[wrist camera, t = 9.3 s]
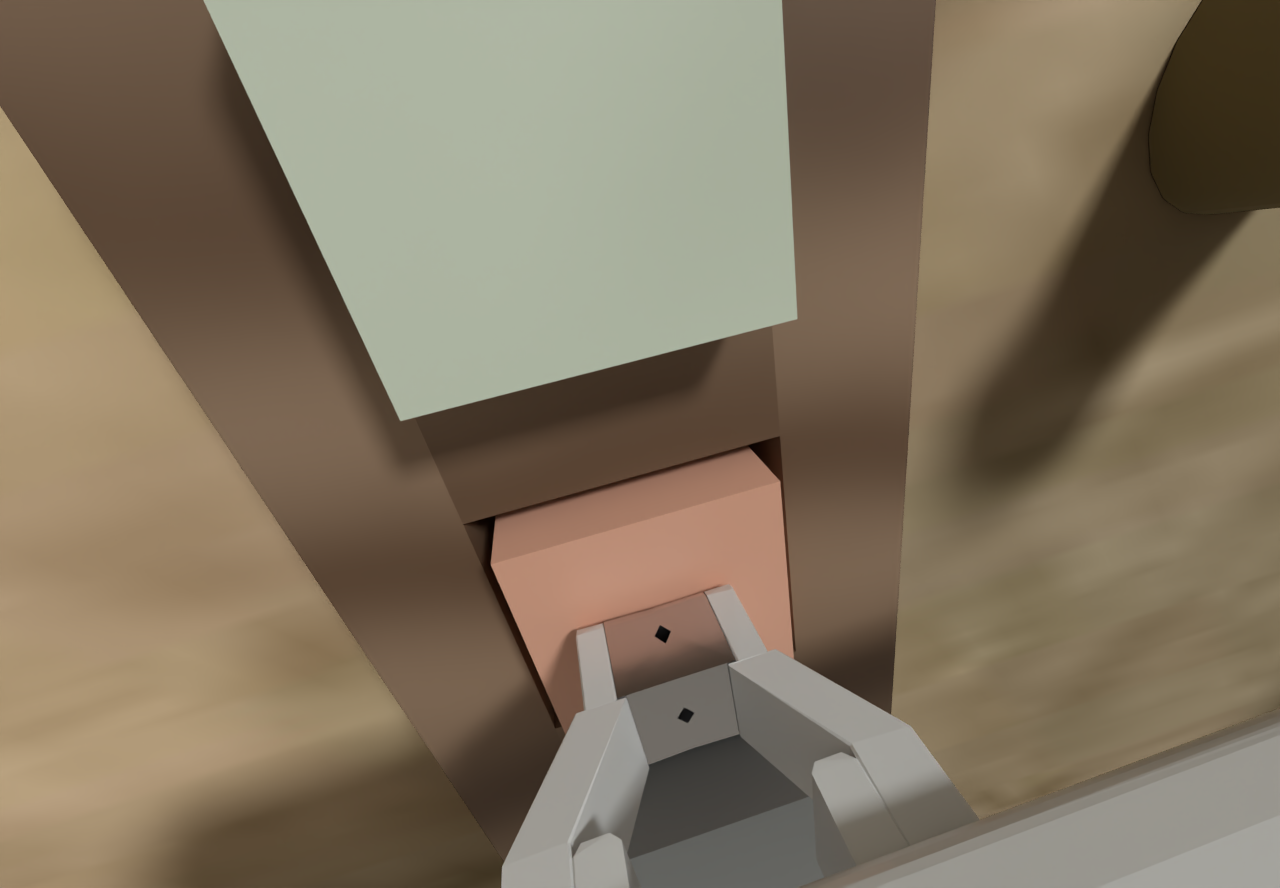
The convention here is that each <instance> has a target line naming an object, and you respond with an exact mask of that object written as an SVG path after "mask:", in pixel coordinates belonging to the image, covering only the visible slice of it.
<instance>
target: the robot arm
mask: <svg viewBox="0 0 1280 888" xmlns="http://www.w3.org/2000/svg"><path fill="white" fill-rule="evenodd" d="M576 644H577V653H578V662H579V671H580V679H581V688H582V697H583V706H584V711H581V712H579V713H576V714H575V716H574V718H573V720H572V722H571V724H570V726H569V728H568V731H567V733H566V735H565V737H564V739H563V741H562V743H561V745H560V747H559V749H558V751H557V753H556V756H555V758H554V760H553V762H552V764H551V766H550V768H549V770H548V772H547V774H546V776H545V778H544V780H543V783H542V785H541V787H540V789H539V791H538V793H537V795H536V797H535V799H534V801H533V803H532V805H531V808H530V810H529V812H528V814H527V816H526V818H525V820H524V822H523V824H522V826H521V828H520V830H519V832H518V835H517V837H516V839H515V841H514V843H513V845H512V847H511V849H510V851H509V853H508V855H507V857H506V860H505V862H504V864H503V866H502V881H501V888H641V885H640V883H639V880H638V878H637V876H636V873H635V871H634V868H633V866H632V863H631V861H630V859H629V856H628V854H627V852H628V848H629V845H630V841H631V837H632V833H633V829H634V825H635V821H636V818H637V814H638V810H639V806H640V802H641V798H642V794H643V790H644V787H645V783H646V779H647V775H648V771H649V766H648V765H649V764H652V763H655V762H657V761H660V760H663V759H665V758H668V757H671V756H674V755H676V754H679V753H682V752H684V751H687V750H690V749H692V748H695V747H699V746H702V745H705V744H709V743H712V742H715V741H718V740H722V739H725V738H728V737H732V736H735V735H738V734H740V737H742V738H743V739H744V740H745V741H746V742H747V743H748V744H750V745H751V746H752V747H753V748H754V749H755V750H756V751H758V752H759V753H760V754H761V755H762V756H763V757H764V758H766V759H767V760H768V761H769V762H770V763H771V764H772V765H774V766H775V767H776V768H777V769H778V770H779V771H780V772H782V773H783V774H784V775H785V776H786V777H787V778H788V779H790V780H791V781H792V782H793V783H794V784H795V785H796V786H798V787H799V788H800V789H801V790H802V791H803V792H804V793H806V794H807V795H808V796H809V797H810V798H811V799H812V800H813V807H814V825H815V843H816V860H817V862H818V864H819V866H820V869H821V871H822V873H823V876H824V878H822V879H819V880H816V881H814V882H811V883H808V884H805V885H803V886H800V887H797V888H1280V708H1279V709H1276V710H1273V711H1271V712H1268V713H1265V714H1263V715H1260V716H1257V717H1254V718H1252V719H1249V720H1246V721H1244V722H1241V723H1238V724H1236V725H1233V726H1230V727H1228V728H1225V729H1222V730H1220V731H1217V732H1214V733H1211V734H1209V735H1206V736H1203V737H1201V738H1198V739H1195V740H1193V741H1190V742H1187V743H1185V744H1182V745H1179V746H1177V747H1174V748H1171V749H1168V750H1166V751H1163V752H1160V753H1158V754H1155V755H1152V756H1150V757H1147V758H1144V759H1142V760H1139V761H1136V762H1133V763H1131V764H1128V765H1125V766H1123V767H1120V768H1117V769H1115V770H1112V771H1109V772H1107V773H1104V774H1101V775H1099V776H1096V777H1093V778H1090V779H1088V780H1085V781H1082V782H1080V783H1077V784H1074V785H1072V786H1069V787H1066V788H1064V789H1061V790H1058V791H1056V792H1053V793H1050V794H1047V795H1045V796H1042V797H1039V798H1037V799H1034V800H1031V801H1029V802H1026V803H1023V804H1021V805H1018V806H1015V807H1012V808H1010V809H1007V810H1004V811H1002V812H999V813H996V814H994V815H991V816H988V817H986V818H983V819H979V818H978V817H977V815H976V814H975V813H974V811H973V810H972V808H971V807H970V806H969V804H968V803H967V802H966V800H965V799H964V798H963V796H962V795H961V794H960V792H959V791H958V790H957V788H956V787H955V785H954V784H953V783H952V781H951V780H950V779H949V777H948V776H947V775H946V773H945V772H944V771H943V769H942V768H941V766H940V765H939V764H938V762H937V761H936V760H935V758H934V757H933V756H932V754H931V753H930V752H929V750H928V749H927V748H926V746H925V745H924V743H923V742H922V741H921V739H920V738H919V737H918V735H917V734H916V733H915V731H914V730H913V729H912V727H911V726H910V725H908V724H906V723H904V722H903V721H901V720H899V719H897V718H896V717H894V716H892V715H890V714H889V713H887V712H885V711H883V710H882V709H880V708H878V707H876V706H875V705H873V704H871V703H869V702H868V701H866V700H864V699H862V698H861V697H859V696H857V695H855V694H854V693H852V692H850V691H848V690H847V689H845V688H843V687H841V686H840V685H838V684H836V683H834V682H833V681H831V680H829V679H827V678H826V677H824V676H822V675H820V674H819V673H817V672H815V671H813V670H812V669H810V668H808V667H806V666H805V665H803V664H801V663H799V662H798V661H796V660H794V659H792V658H791V657H789V656H787V655H785V654H784V653H782V652H780V651H778V650H777V649H774V650H771V651H767V649H766V647H765V645H764V644H763V642H762V640H761V638H760V636H759V634H758V633H757V631H756V629H755V627H754V625H753V623H752V622H751V620H750V618H749V616H748V614H747V612H746V611H745V609H744V607H743V605H742V603H741V602H740V600H739V598H738V596H737V594H736V592H735V591H734V589H733V587H732V586H731V585H729V584H727V585H723V586H720V587H717V588H714V589H711V590H708V591H705V592H704V593H703V592H701V593H698V594H695V595H692V596H689V597H686V598H682V599H679V600H676V601H673V602H670V603H667V604H664V605H661V606H657V607H654V608H653V609H649V610H645V611H642V612H638V613H635V614H631V615H628V616H624V617H620V618H617V619H613V620H610V621H606V622H604V623H601V624H597V625H594V626H590V627H587V628H583V629H579V630H577V633H576Z"/></svg>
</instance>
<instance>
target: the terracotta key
mask: <svg viewBox="0 0 1280 888" xmlns="http://www.w3.org/2000/svg"><path fill="white" fill-rule="evenodd" d="M491 566H492V569H493V571H494V573H495V576H496V578H497V580H498V582H499V585H500V587H501V589H502V591H503V594H504V596H505V598H506V601H507V603H508V605H509V607H510V610H511V612H512V614H513V617H514V619H515V621H516V623H517V626H518V628H519V630H520V632H521V635H522V637H523V639H524V642H525V644H526V646H527V648H528V651H529V653H530V655H531V657H532V660H533V662H534V664H535V667H536V669H537V671H538V673H539V676H540V678H541V680H542V682H543V685H544V687H545V689H546V692H547V694H548V696H549V698H550V701H551V703H552V705H553V707H554V710H555V712H556V714H557V717H558V719H559V721H560V723H561V726H562V728H563V730H564V732H565V735H566V733H567V731H568V728H569V726H570V724H571V722H572V720H573V718H574V716H575V714H576V713H579V712H581V711H584V706H583V697H582V688H581V679H580V671H579V662H578V653H577V644H576V633H577V630H579V629H583V628H587V627H590V626H594V625H597V624H601V623H604V622H606V621H610V620H613V619H617V618H620V617H624V616H628V615H631V614H635V613H638V612H642V611H645V610H649V609H653V608H654V607H657V606H661V605H664V604H667V603H670V602H673V601H676V600H679V599H682V598H686V597H689V596H692V595H695V594H698V593H701V592H703V593H704V592H705V591H708V590H711V589H714V588H717V587H720V586H723V585H727V584H729V585H731V586H732V587H733V589H734V591H735V592H736V594H737V596H738V598H739V600H740V602H741V603H742V605H743V607H744V609H745V611H746V612H747V614H748V616H749V618H750V620H751V622H752V623H753V625H754V627H755V629H756V631H757V633H758V634H759V636H760V638H761V640H762V642H763V644H764V645H765V647H766V649H767V651H771V650H774V649H777V650H778V651H780V652H782V653H784V654H785V655H787V656H789V657H791V658H792V659H794V654H793V641H792V628H791V615H790V602H789V589H788V576H787V563H786V550H785V537H784V524H783V511H782V498H781V485H780V480H779V479H778V478H777V477H776V476H775V475H774V474H773V473H772V472H771V471H770V470H769V468H768V467H767V466H766V465H765V464H764V463H763V462H762V461H761V460H760V459H759V457H758V456H757V455H756V454H755V453H754V452H753V451H752V450H751V449H750V448H749V446H748V445H746V446H742V447H739V448H735V449H731V450H728V451H724V452H721V453H717V454H713V455H710V456H706V457H703V458H699V459H695V460H692V461H688V462H685V463H681V464H678V465H674V466H670V467H667V468H663V469H660V470H656V471H652V472H649V473H645V474H642V475H638V476H634V477H631V478H627V479H624V480H620V481H617V482H613V483H609V484H606V485H602V486H599V487H595V488H591V489H588V490H584V491H581V492H577V493H573V494H570V495H566V496H563V497H559V498H556V499H552V500H548V501H545V502H541V503H538V504H534V505H530V506H527V507H523V508H520V509H516V510H512V511H509V512H505V513H502V514H498V515H496V519H495V528H494V538H493V547H492V556H491Z"/></svg>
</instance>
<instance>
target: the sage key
mask: <svg viewBox="0 0 1280 888" xmlns="http://www.w3.org/2000/svg"><path fill="white" fill-rule="evenodd" d="M204 3H205V5H206V7H207V9H208V11H209V13H210V15H211V18H212V20H213V22H214V24H215V26H216V28H217V30H218V32H219V35H220V37H221V39H222V41H223V43H224V45H225V47H226V50H227V52H228V54H229V56H230V58H231V60H232V62H233V65H234V67H235V69H236V71H237V73H238V75H239V77H240V79H241V82H242V84H243V86H244V88H245V90H246V92H247V94H248V97H249V99H250V101H251V103H252V105H253V107H254V109H255V112H256V114H257V116H258V118H259V120H260V122H261V124H262V126H263V129H264V131H265V133H266V135H267V137H268V139H269V141H270V144H271V146H272V148H273V150H274V152H275V154H276V156H277V159H278V161H279V163H280V165H281V167H282V169H283V171H284V173H285V176H286V178H287V180H288V182H289V184H290V186H291V188H292V191H293V193H294V195H295V197H296V199H297V201H298V203H299V206H300V208H301V210H302V212H303V214H304V216H305V218H306V220H307V223H308V225H309V227H310V229H311V231H312V233H313V235H314V238H315V240H316V242H317V244H318V246H319V248H320V250H321V253H322V255H323V257H324V259H325V261H326V263H327V265H328V267H329V270H330V272H331V274H332V276H333V278H334V280H335V282H336V285H337V287H338V289H339V291H340V293H341V295H342V297H343V300H344V302H345V304H346V306H347V308H348V310H349V312H350V315H351V317H352V319H353V321H354V323H355V325H356V327H357V329H358V332H359V334H360V336H361V338H362V340H363V342H364V344H365V347H366V349H367V351H368V353H369V355H370V357H371V359H372V362H373V364H374V366H375V368H376V370H377V372H378V374H379V376H380V379H381V381H382V383H383V385H384V387H385V389H386V391H387V394H388V396H389V398H390V400H391V402H392V404H393V406H394V409H395V411H396V413H397V415H398V417H399V419H400V421H403V420H407V419H411V418H415V417H419V416H422V415H426V414H430V413H434V412H438V411H442V410H446V409H450V408H454V407H457V406H461V405H465V404H469V403H473V402H477V401H481V400H485V399H489V398H492V397H496V396H500V395H504V394H508V393H512V392H516V391H520V390H524V389H527V388H531V387H535V386H539V385H543V384H547V383H551V382H555V381H559V380H562V379H566V378H570V377H574V376H578V375H582V374H586V373H590V372H594V371H597V370H601V369H605V368H609V367H613V366H617V365H621V364H625V363H629V362H632V361H636V360H640V359H644V358H648V357H652V356H656V355H660V354H664V353H668V352H671V351H675V350H679V349H683V348H687V347H691V346H695V345H699V344H703V343H706V342H710V341H714V340H718V339H722V338H726V337H730V336H734V335H738V334H741V333H745V332H749V331H753V330H757V329H761V328H765V327H769V326H773V325H776V324H780V323H784V322H788V321H792V320H796V319H797V300H796V279H795V259H794V238H793V218H792V198H791V177H790V157H789V136H788V116H787V95H786V75H785V54H784V34H783V13H782V0H204Z"/></svg>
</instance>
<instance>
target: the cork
mask: <svg viewBox="0 0 1280 888" xmlns="http://www.w3.org/2000/svg"><path fill="white" fill-rule="evenodd" d="M1149 149H1150V164H1151V174H1152V176H1153V178H1154V180H1155V182H1156V184H1157V186H1158V188H1159V191H1160V193H1161V195H1162V197H1163V199H1165V200H1166V201H1167V202H1169V203H1170V204H1172V205H1173V206H1175V207H1176V208H1178V209H1179V210H1181V211H1182V212H1183V213H1196V214H1220V213H1230V212H1240V211H1250V210H1260V209H1270V208H1280V0H1203V1H1202V2H1201V4H1200V6H1199V7H1198V9H1197V10H1196V12H1195V14H1194V15H1193V17H1192V19H1191V20H1190V22H1189V23H1188V25H1187V27H1186V28H1185V30H1184V31H1183V33H1182V35H1181V36H1180V38H1179V39H1178V41H1177V43H1176V46H1175V48H1174V51H1173V53H1172V56H1171V58H1170V61H1169V63H1168V66H1167V68H1166V71H1165V73H1164V76H1163V78H1162V80H1161V83H1160V85H1159V88H1158V90H1157V95H1156V100H1155V105H1154V111H1153V116H1152V121H1151V126H1150V131H1149Z"/></svg>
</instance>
